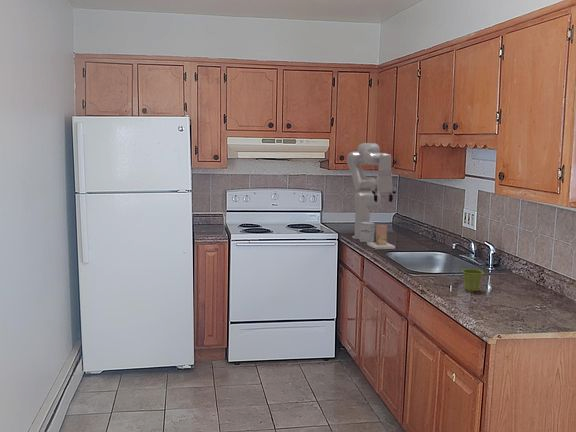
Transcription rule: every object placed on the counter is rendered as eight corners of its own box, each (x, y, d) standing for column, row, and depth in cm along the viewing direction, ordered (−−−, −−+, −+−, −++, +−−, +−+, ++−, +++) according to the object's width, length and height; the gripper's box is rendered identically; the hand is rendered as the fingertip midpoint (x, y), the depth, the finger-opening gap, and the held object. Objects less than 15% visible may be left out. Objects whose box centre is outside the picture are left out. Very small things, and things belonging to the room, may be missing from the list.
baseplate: (367, 244, 387) (367, 242, 387) (386, 244, 390) (386, 242, 390) (375, 248, 374) (375, 246, 374) (395, 248, 377) (395, 246, 377)
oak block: (375, 243, 384) (376, 234, 383) (383, 243, 385) (383, 234, 384) (378, 245, 379) (379, 235, 378) (386, 244, 380) (386, 235, 379)
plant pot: (479, 293, 272) (480, 274, 271) (458, 290, 277) (459, 271, 276) (484, 289, 280) (486, 270, 278) (464, 286, 285) (465, 268, 283)
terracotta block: (376, 234, 383) (376, 224, 382) (383, 234, 384) (384, 224, 383) (379, 235, 378) (379, 225, 377) (386, 235, 379) (387, 225, 379)
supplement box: (359, 242, 397) (360, 222, 396) (363, 240, 404) (364, 221, 402) (370, 243, 394) (371, 223, 392) (374, 241, 400) (375, 222, 399)
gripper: (395, 173, 382) (393, 201, 384) (368, 173, 378) (367, 200, 380) (400, 174, 375) (398, 202, 377) (373, 174, 371) (372, 202, 373)
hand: (383, 201), depth 378 cm, fingers open, 9 cm apart
